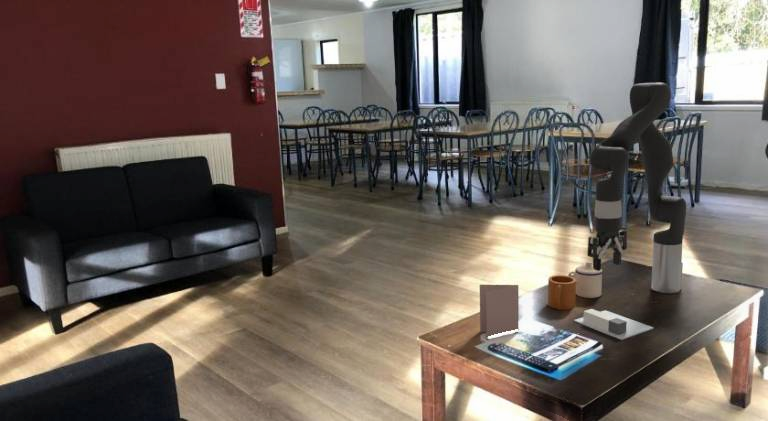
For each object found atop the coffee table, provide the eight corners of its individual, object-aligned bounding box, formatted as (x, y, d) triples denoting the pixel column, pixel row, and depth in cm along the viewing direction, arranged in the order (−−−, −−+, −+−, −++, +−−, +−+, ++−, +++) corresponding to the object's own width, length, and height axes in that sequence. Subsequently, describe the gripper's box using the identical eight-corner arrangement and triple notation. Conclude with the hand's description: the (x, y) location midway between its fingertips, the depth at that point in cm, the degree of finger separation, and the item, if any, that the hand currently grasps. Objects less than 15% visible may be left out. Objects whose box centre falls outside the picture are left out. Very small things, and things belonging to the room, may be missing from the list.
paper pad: (605, 311, 205) (605, 310, 205) (653, 328, 190) (653, 327, 189) (574, 321, 198) (574, 319, 198) (621, 339, 183) (621, 338, 183)
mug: (539, 309, 209) (539, 283, 207) (554, 298, 218) (554, 273, 217) (565, 314, 204) (565, 287, 202) (579, 303, 213) (580, 277, 211)
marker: (581, 320, 197) (581, 310, 197) (588, 318, 199) (588, 307, 198) (618, 335, 185) (618, 324, 184) (626, 332, 187) (626, 321, 186)
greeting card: (518, 331, 192) (518, 284, 189) (519, 341, 185) (519, 292, 182) (480, 330, 194) (479, 283, 191) (479, 340, 187) (479, 291, 184)
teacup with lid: (606, 293, 222) (607, 260, 219) (595, 300, 215) (596, 267, 213) (573, 286, 230) (574, 255, 227) (562, 293, 223) (562, 261, 221)
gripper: (614, 208, 193) (613, 259, 197) (581, 216, 186) (580, 269, 190) (635, 212, 187) (633, 265, 190) (601, 220, 180) (600, 275, 183)
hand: (607, 267), depth 190 cm, fingers open, 8 cm apart
